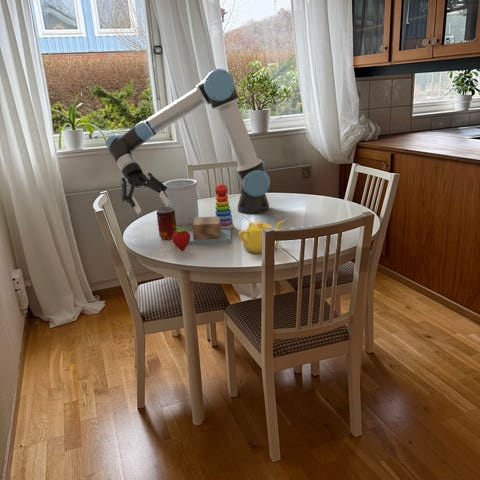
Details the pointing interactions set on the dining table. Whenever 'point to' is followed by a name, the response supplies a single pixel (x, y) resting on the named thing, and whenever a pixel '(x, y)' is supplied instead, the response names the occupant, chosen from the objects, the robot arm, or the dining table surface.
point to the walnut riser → (206, 228)
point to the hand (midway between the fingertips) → (154, 208)
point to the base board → (224, 238)
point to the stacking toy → (223, 207)
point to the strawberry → (181, 238)
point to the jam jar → (166, 222)
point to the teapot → (255, 236)
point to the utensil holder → (183, 199)
